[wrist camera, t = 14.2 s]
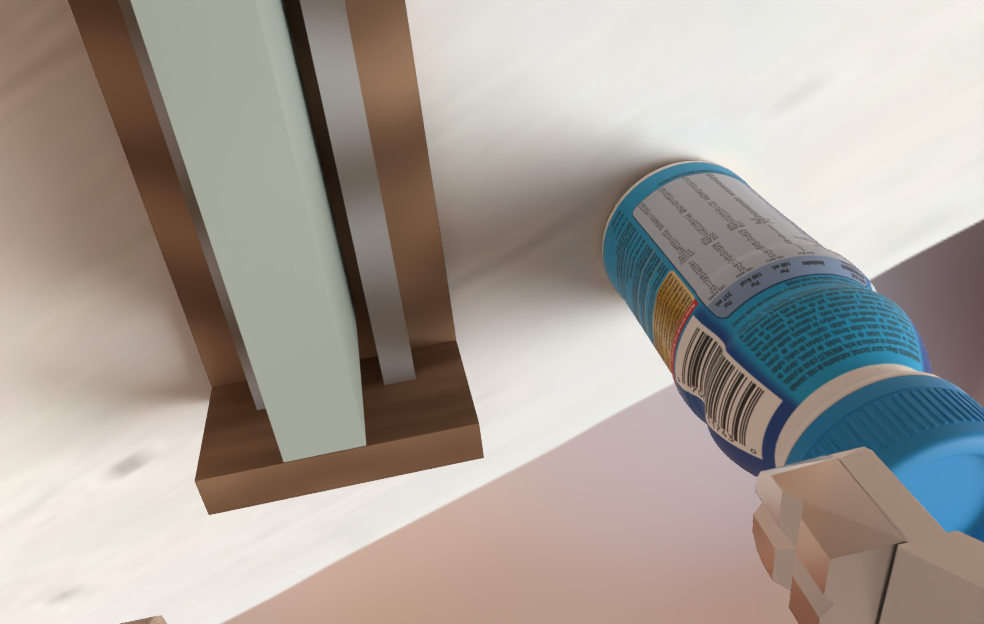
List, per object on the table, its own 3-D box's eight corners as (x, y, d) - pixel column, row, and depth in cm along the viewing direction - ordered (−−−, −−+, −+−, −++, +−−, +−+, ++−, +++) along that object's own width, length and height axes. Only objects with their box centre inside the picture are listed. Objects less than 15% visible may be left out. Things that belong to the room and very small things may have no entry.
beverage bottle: (690, 117, 37) (1005, 357, 20) (782, 223, 41) (1106, 495, 24) (561, 242, 39) (747, 551, 22) (661, 330, 43) (881, 648, 26)
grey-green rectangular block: (184, -56, 28) (128, -7, 19) (269, -67, 28) (249, -24, 20) (291, 317, 36) (283, 462, 28) (355, 305, 37) (366, 445, 28)
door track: (6, -205, 26) (-102, -219, 19) (364, -244, 27) (381, -269, 20) (226, 400, 40) (209, 514, 33) (456, 356, 41) (483, 457, 34)
